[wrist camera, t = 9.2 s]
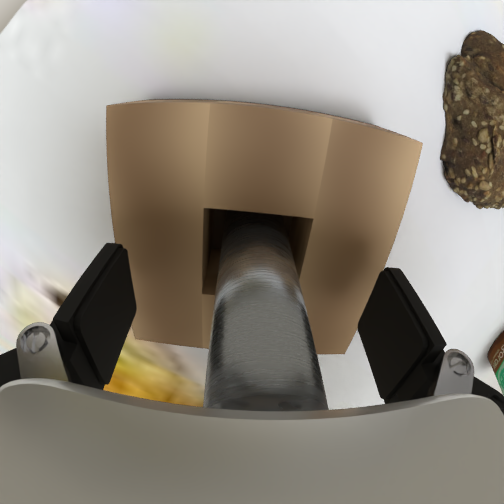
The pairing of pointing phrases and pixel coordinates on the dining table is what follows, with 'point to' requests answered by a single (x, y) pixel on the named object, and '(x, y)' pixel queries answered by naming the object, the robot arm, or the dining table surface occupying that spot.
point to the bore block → (252, 206)
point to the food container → (498, 359)
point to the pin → (260, 324)
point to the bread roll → (475, 121)
